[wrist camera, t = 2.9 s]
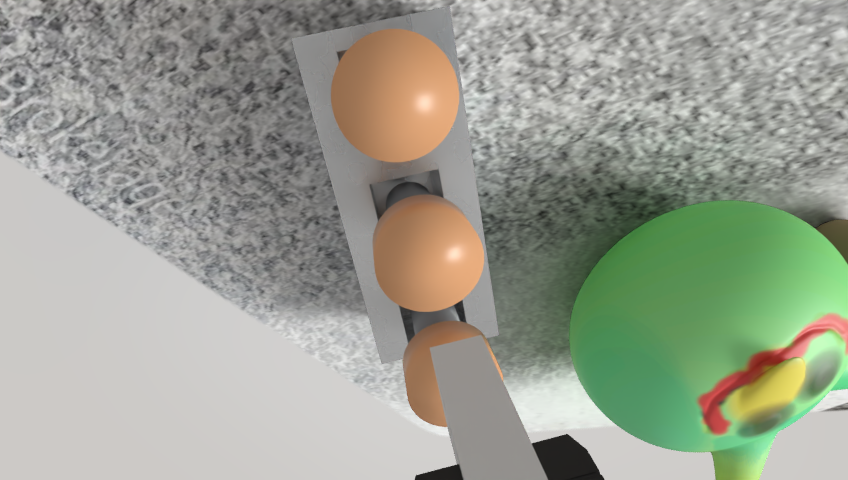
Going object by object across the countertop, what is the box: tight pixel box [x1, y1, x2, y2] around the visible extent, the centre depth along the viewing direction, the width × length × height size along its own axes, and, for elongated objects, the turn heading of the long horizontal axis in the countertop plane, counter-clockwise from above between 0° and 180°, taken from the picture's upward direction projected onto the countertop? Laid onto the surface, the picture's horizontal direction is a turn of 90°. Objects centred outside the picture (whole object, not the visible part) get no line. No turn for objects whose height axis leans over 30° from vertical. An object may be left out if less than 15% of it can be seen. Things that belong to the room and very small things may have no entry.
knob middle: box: [372, 182, 484, 312], centre depth 24 cm, size 5×5×8 cm
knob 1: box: [331, 29, 459, 162], centre depth 21 cm, size 5×5×8 cm
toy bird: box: [569, 200, 848, 480], centre depth 32 cm, size 18×17×15 cm
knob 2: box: [403, 305, 503, 427], centre depth 27 cm, size 5×5×8 cm
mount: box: [291, 6, 499, 364], centre depth 30 cm, size 20×8×6 cm, turn 11°
